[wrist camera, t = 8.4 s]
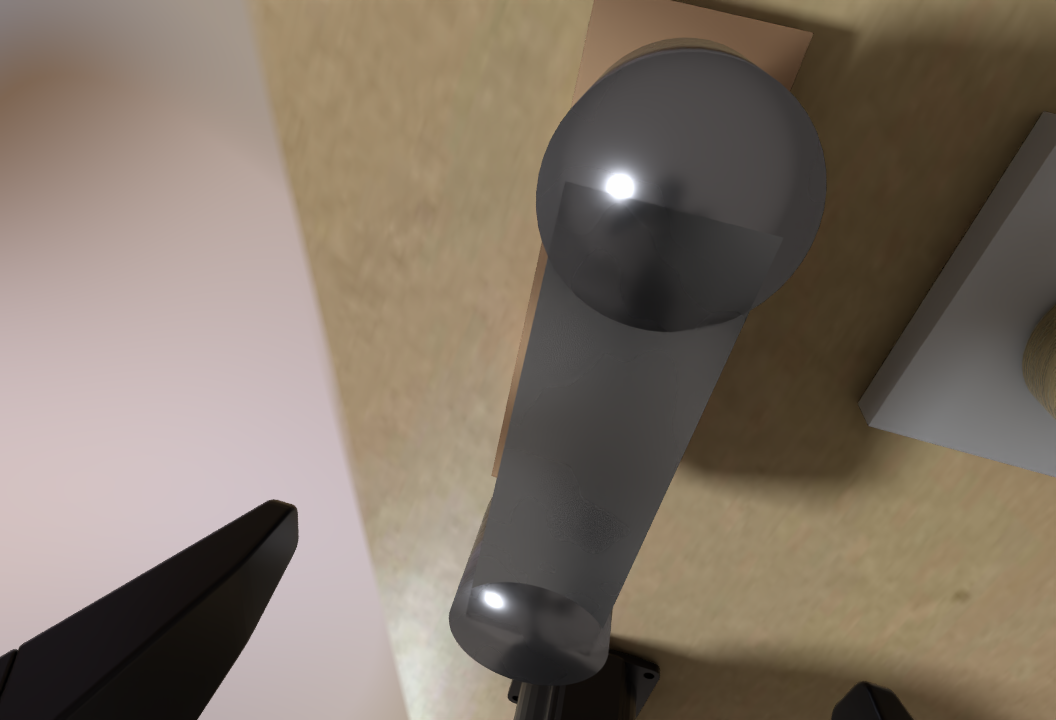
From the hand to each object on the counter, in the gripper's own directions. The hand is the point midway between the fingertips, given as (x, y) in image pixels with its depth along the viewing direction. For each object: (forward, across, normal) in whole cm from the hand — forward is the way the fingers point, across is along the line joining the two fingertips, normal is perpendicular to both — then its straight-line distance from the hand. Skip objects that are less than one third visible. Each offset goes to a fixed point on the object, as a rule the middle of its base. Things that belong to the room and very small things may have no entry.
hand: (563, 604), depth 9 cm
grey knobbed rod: (+6, 0, 0) cm, 6 cm away
